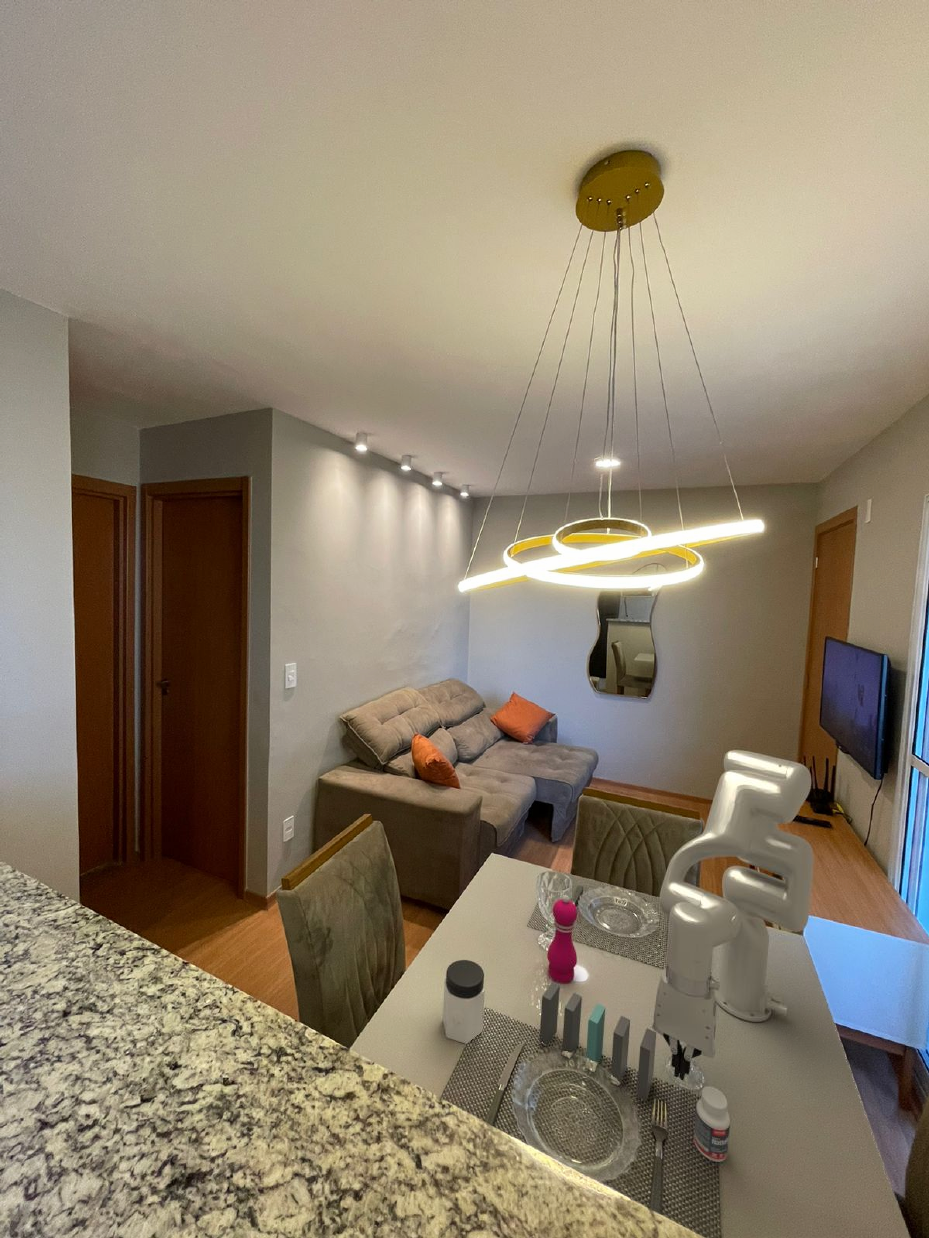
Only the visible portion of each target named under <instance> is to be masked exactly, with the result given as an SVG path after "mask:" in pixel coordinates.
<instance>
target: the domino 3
mask: <svg viewBox="0 0 929 1238" xmlns="http://www.w3.org/2000/svg"><path fill="white" fill-rule="evenodd" d="M605 1016H606V1007H605V1006H603V1005H601V1004H599V1003H596V1004H595V1006H594V1007H593V1010H592V1012H591V1013H590V1015H589V1018H588V1022H587V1036H586V1052H585V1058H586V1057H587V1058H589V1059H590V1060H592V1061H596V1062H600V1061H601V1059H602V1056H603V1049H604V1036H605V1035H604V1033H605V1022H606V1021H605V1018H606V1017H605Z"/></svg>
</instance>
